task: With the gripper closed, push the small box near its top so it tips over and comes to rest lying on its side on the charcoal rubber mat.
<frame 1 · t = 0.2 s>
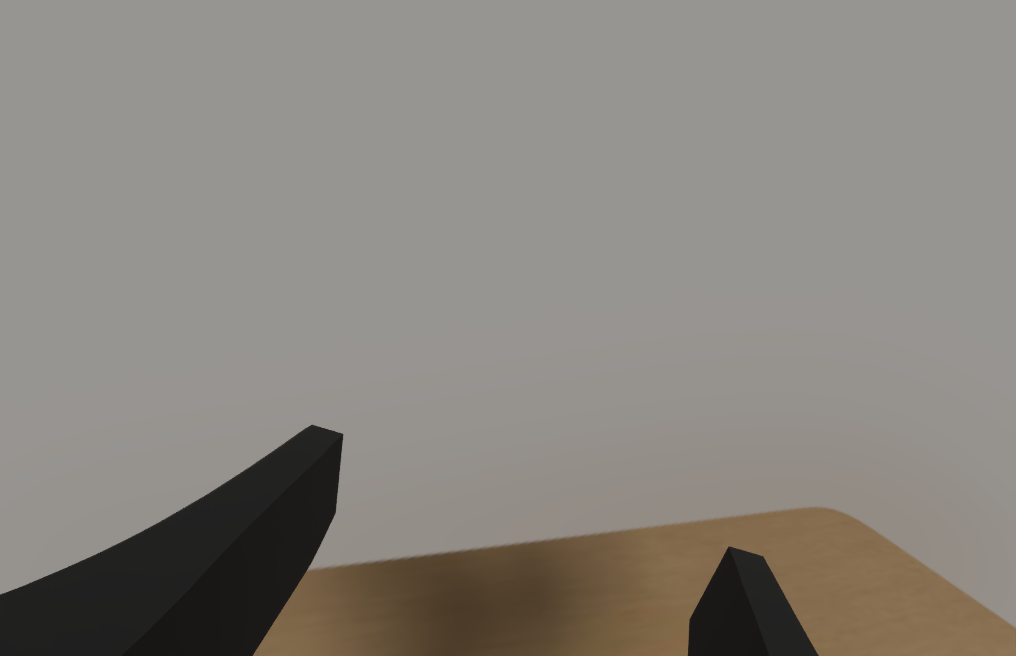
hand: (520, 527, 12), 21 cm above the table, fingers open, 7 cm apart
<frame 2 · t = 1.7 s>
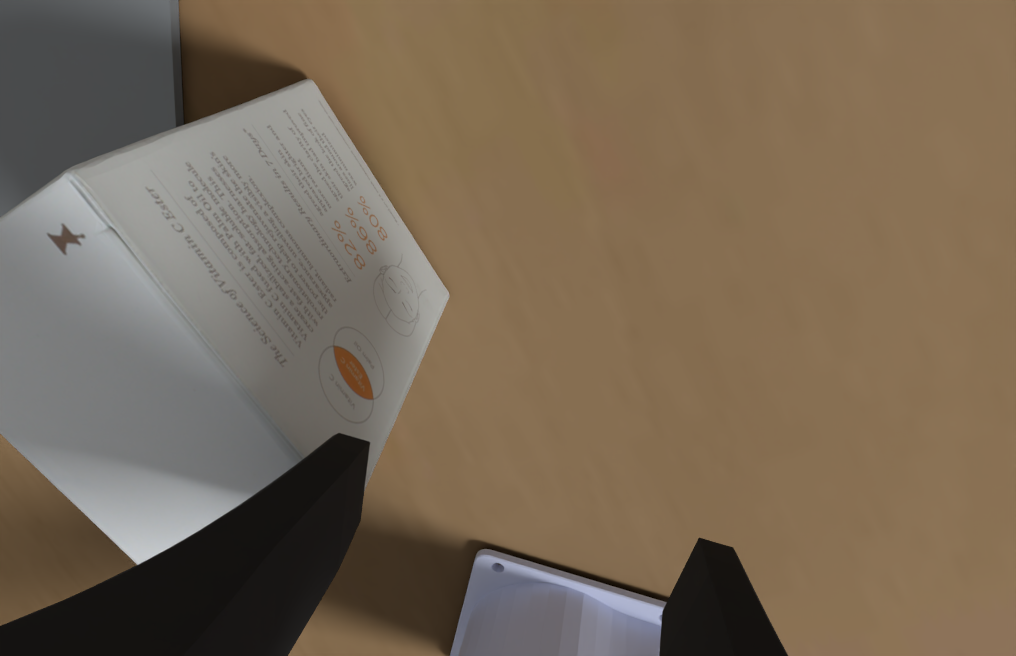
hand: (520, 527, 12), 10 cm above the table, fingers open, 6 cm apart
mat: (23, 144, 22), on the table
small box: (324, 228, 22), on the table, touching gripper
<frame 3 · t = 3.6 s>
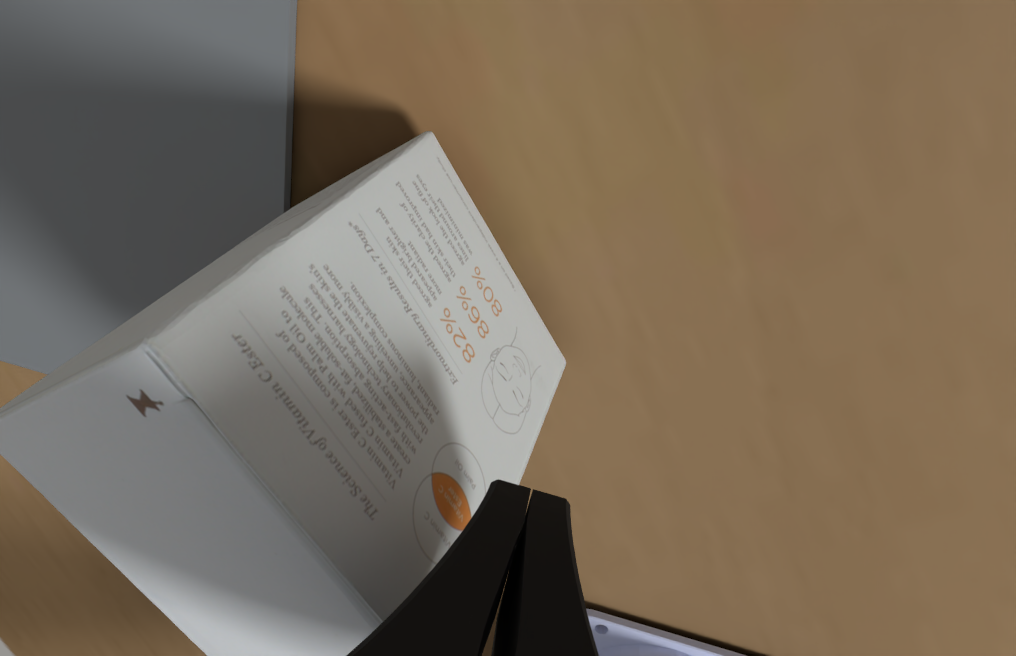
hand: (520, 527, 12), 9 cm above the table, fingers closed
mat: (113, 191, 21), on the table
small box: (436, 280, 20), on the table
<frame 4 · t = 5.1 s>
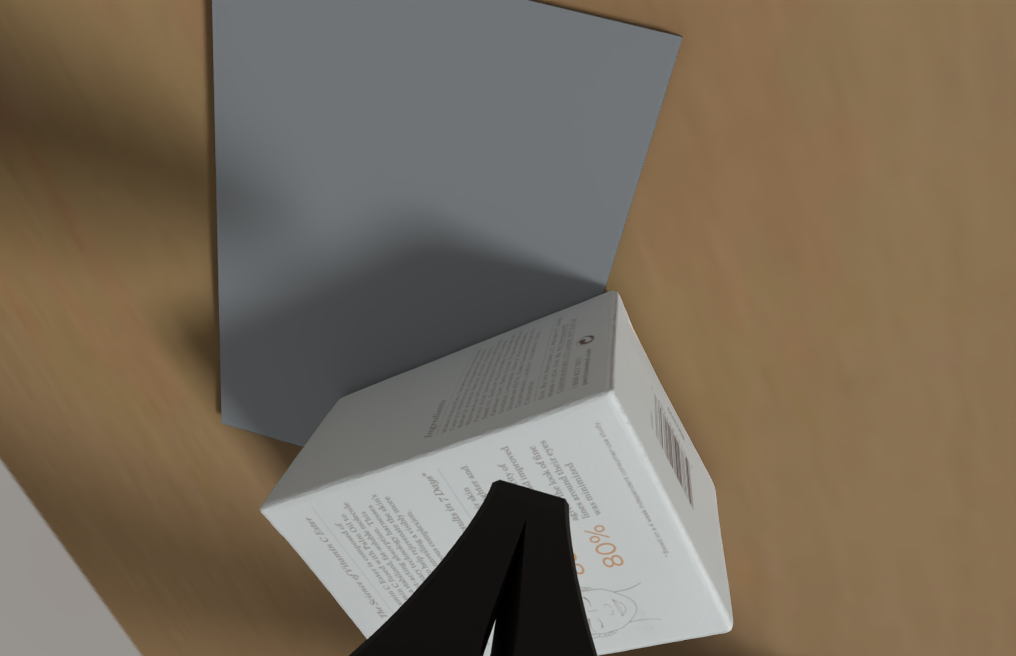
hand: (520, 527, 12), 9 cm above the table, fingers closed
mat: (405, 267, 20), on the table
small box: (684, 448, 18), point 3 cm above the table, touching mat
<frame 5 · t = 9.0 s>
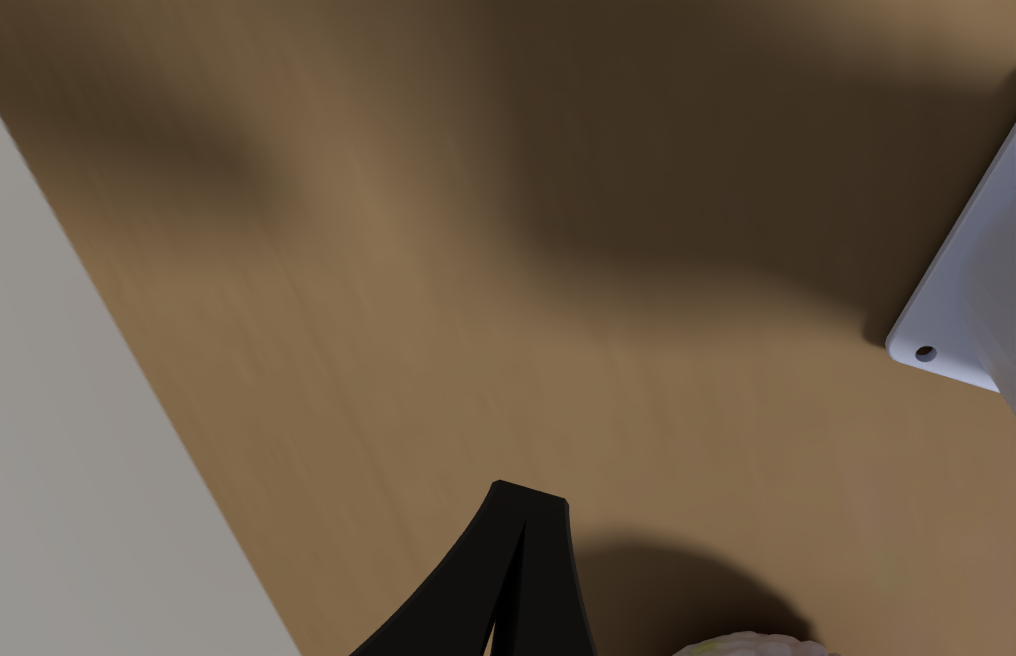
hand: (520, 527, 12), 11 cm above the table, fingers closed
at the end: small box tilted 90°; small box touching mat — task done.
